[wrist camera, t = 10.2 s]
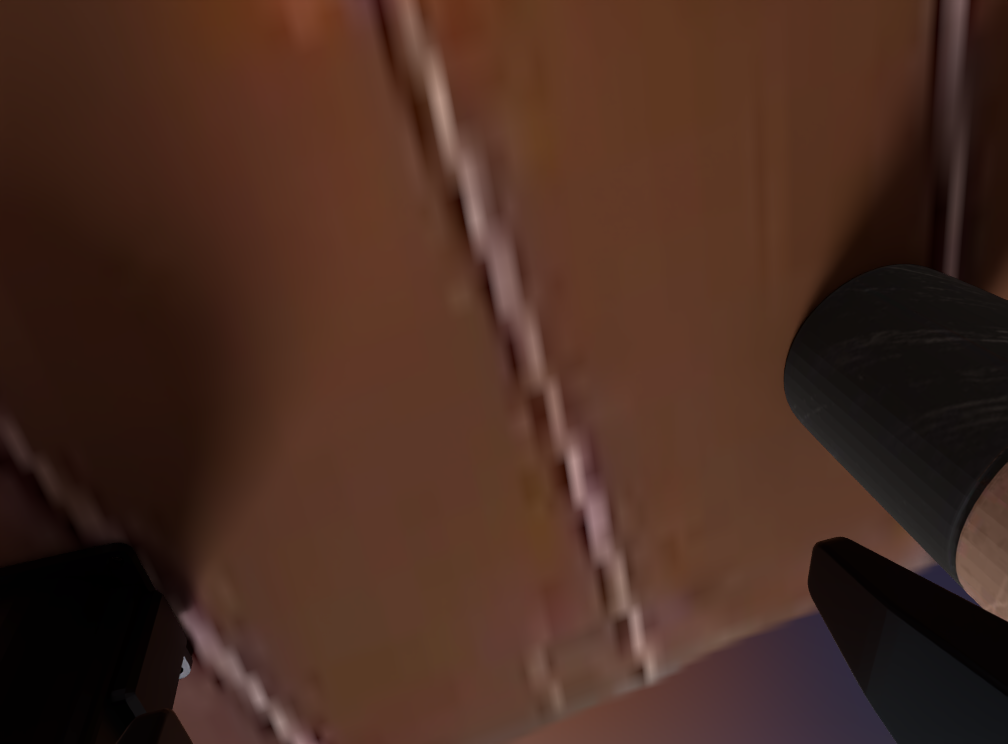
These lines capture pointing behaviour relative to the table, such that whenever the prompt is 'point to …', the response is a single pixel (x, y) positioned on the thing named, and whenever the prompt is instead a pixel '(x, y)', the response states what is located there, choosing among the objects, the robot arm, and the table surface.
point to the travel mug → (917, 411)
